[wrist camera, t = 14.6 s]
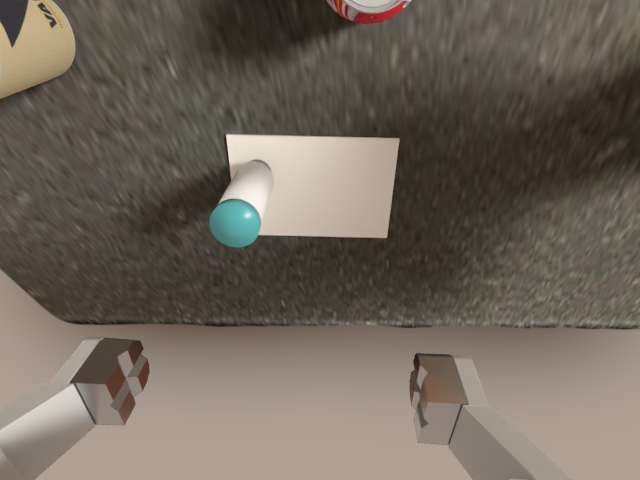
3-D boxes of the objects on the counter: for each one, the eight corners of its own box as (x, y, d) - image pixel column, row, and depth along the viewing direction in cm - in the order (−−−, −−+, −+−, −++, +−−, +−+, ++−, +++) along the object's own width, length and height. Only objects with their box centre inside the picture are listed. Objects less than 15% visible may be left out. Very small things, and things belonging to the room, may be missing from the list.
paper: (399, 137, 39) (399, 138, 39) (386, 236, 46) (386, 238, 45) (226, 134, 40) (226, 134, 39) (237, 233, 46) (237, 234, 46)
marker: (275, 155, 40) (257, 204, 30) (277, 190, 42) (260, 247, 32) (237, 154, 40) (206, 203, 30) (240, 189, 42) (212, 246, 32)
